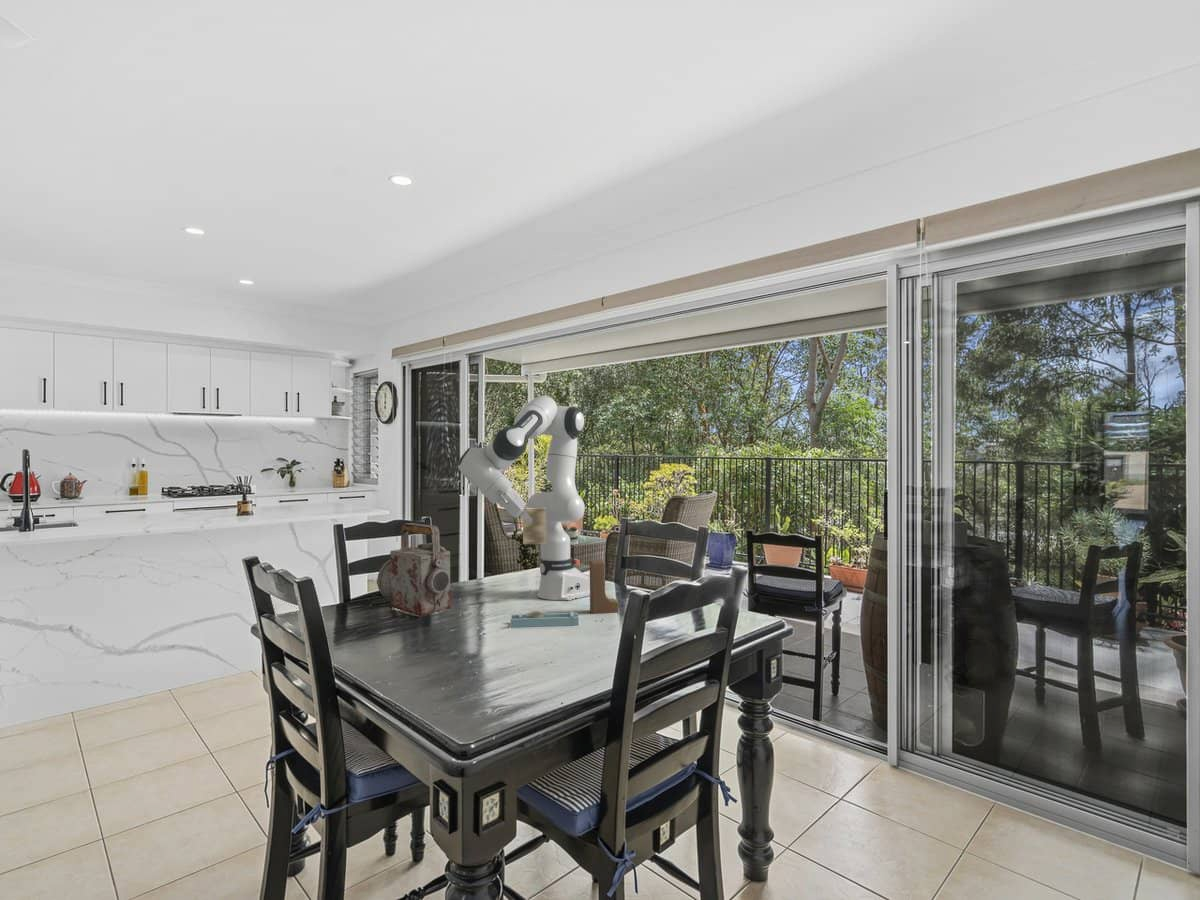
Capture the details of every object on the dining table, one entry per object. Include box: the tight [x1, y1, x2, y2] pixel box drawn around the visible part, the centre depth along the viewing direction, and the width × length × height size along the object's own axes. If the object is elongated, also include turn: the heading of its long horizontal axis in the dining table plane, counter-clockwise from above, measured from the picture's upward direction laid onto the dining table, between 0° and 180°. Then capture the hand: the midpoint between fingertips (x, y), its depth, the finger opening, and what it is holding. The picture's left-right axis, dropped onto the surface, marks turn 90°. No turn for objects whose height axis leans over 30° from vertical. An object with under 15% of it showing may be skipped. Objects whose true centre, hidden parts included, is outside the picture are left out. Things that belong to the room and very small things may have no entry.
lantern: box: [376, 522, 452, 616], centre depth 222 cm, size 16×27×30 cm, turn 51°
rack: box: [508, 611, 581, 630], centre depth 200 cm, size 22×9×4 cm, turn 94°
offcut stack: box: [524, 610, 544, 618], centre depth 200 cm, size 6×2×4 cm, turn 94°
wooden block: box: [589, 559, 619, 615], centre depth 214 cm, size 9×4×18 cm, turn 101°
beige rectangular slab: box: [522, 507, 546, 545], centre depth 199 cm, size 7×2×11 cm, turn 94°
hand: (531, 521), depth 199 cm, fingers closed on beige rectangular slab, 2 cm apart
